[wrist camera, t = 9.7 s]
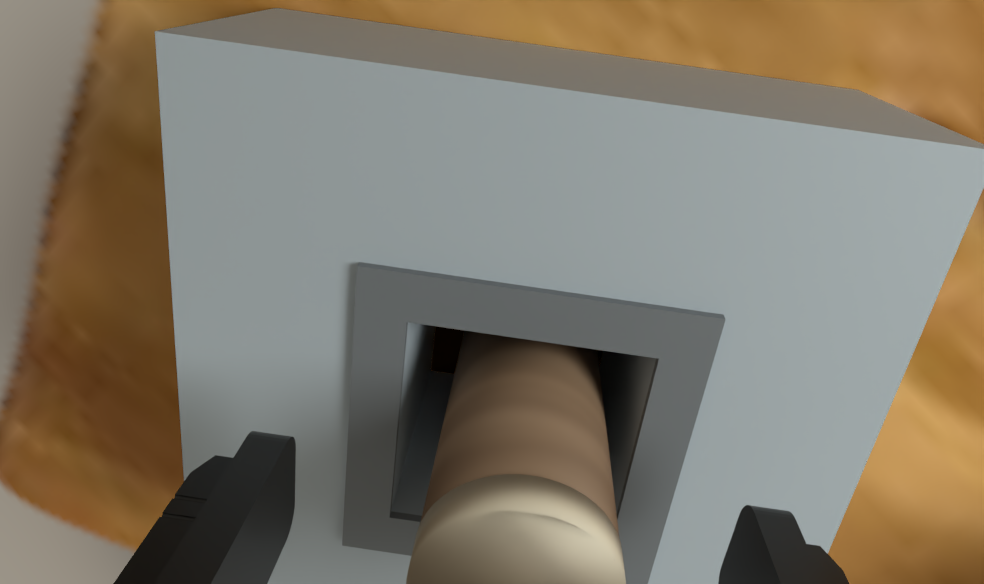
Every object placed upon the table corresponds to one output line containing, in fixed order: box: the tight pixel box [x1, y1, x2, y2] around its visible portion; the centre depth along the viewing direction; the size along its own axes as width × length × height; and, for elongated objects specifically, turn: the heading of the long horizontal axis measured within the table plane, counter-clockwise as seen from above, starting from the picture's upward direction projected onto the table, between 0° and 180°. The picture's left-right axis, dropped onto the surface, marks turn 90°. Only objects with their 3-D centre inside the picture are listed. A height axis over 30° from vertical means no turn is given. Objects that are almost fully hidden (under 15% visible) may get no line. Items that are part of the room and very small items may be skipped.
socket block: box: [155, 8, 984, 584], centre depth 18 cm, size 14×14×6 cm
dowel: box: [406, 330, 626, 584], centre depth 16 cm, size 3×3×10 cm
